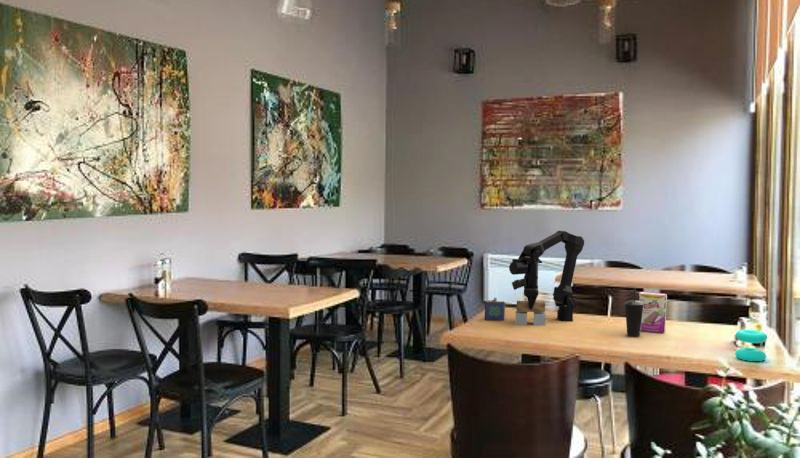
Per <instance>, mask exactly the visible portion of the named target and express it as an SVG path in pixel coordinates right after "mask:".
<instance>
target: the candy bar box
mask: <svg viewBox="0 0 800 458" xmlns="http://www.w3.org/2000/svg"><path fill="white" fill-rule="evenodd" d="M667 299H668V295H667V294H666V293H657V292H656V293H655V292H646V291H645V292H644V291H640V292H639V293H638V301H640V302H642V303H644V305H643V312H642V320H641V328H640V332H646V333H656V334H665V332H666V324H667V323H666V321H667V320H666V319H667V302H668V301H667Z"/></svg>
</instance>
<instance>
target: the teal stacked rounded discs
mask: <svg viewBox="0 0 800 458" xmlns="http://www.w3.org/2000/svg"><path fill="white" fill-rule="evenodd" d="M735 336H736V338H737V339H738V340H739V341H741V342H744V343H749V344H761V343H764V342H766V341H767V339H768V336H767V334H766V333H765V332H763V331H760V330H756V329H755V330H754V329H740V330H737V331H736V332H735ZM734 355H735V357H736V358H737V359H739V360H741V359H742V361H745V360H748V361H747V362H751V361H760V362H764V361H765V360H766V358H767V355H766V352H764V351H763V350H761V349H758V348H754V347H741V348H738V349H737V350H735V353H734ZM763 360H764V361H763Z"/></svg>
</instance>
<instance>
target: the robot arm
mask: <svg viewBox="0 0 800 458" xmlns="http://www.w3.org/2000/svg"><path fill="white" fill-rule="evenodd" d="M559 243H563V244H564V250H565V254H566V255H565V259H564V264H563V268H562V273H561V277H560V283H559V285H558V286H554V288H553V293H552V297H553V298H552V300H553V302H554V304H555V307H558V309H557V310H556V311H557V312H556V313H557V314H556V319H557V320H558V322H568V323H569V322H571V323H572V322H574V309H576V308H577V306H578V303H577V301H576V300H575V299H574V298H573V294H574V293H573V290H572V283H573V278H574V274H575V268H576V264H577V260H578V256H579V255H580V254H581V252H582V251H583V247H584V245H585V240H584V238H583V236H578V235H574V234H572V233H570V232H567V231H565V230H558V231H556V232H554V233H553V234H551V235H549V236H547V237H545V238H544V239H542V240H539V241H538V242H533V243H529V244H526V245H525V246H524V247H523V250H522V252H521V253H520V255H519V256H518V258H512V260H511V262H510V264H509V266H508V269H509V273H510V274H511V275H514V276H515V275H524V276H523V278H520V279H515V280H514V281H511V286H512V288H513V290H517V289H520V288H523V296H525V297H526V298H527V301H528V304H529V309H532V308H533V306H534V303H535V301H537V298H538V296H539V284H538V283H539V282H538V281H539V264H542V263H543V261H542V260H541V259H540V257H541V256H543V255H544V253H545V251H546V250H548V249H550V248H552V247H554V246H555V245H557V244H559Z"/></svg>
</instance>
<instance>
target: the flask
mask: <svg viewBox="0 0 800 458" xmlns="http://www.w3.org/2000/svg"><path fill="white" fill-rule="evenodd" d="M505 313H506V302H505V301H504V300H503V301H502V300H498V298H497V297H493V300H492V299H489V300H485V301H484V321H491V322H493V321H494V322H496V321H497V322H499V321H500V322H504V321H505V320H506V319H505V318H506V317H505V316H506V314H505Z"/></svg>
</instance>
